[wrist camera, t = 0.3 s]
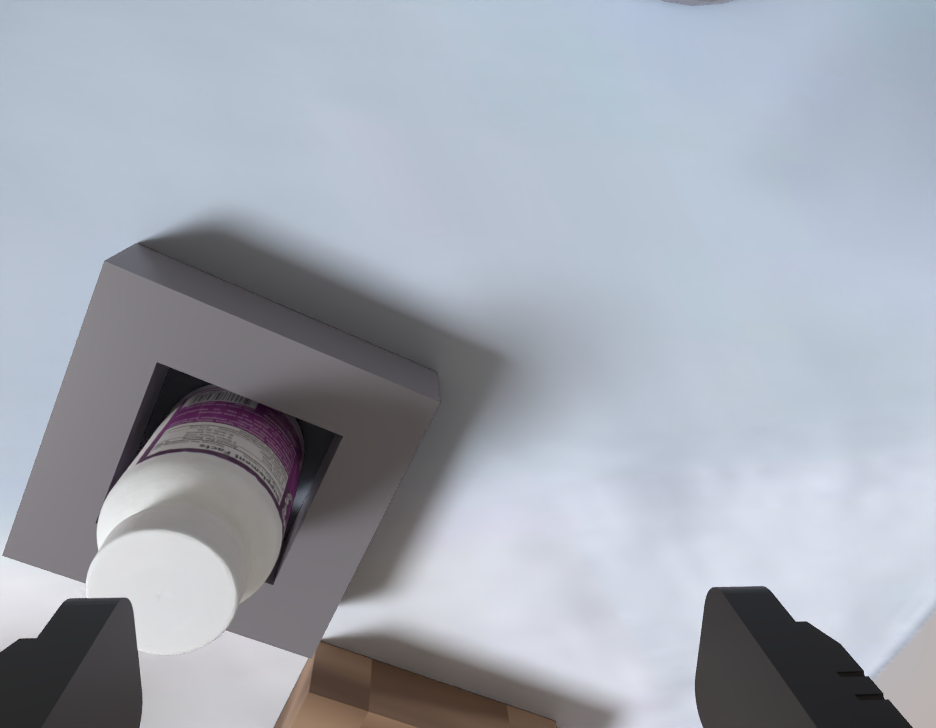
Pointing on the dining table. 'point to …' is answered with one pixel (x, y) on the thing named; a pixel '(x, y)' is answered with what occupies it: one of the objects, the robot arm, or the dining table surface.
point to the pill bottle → (198, 518)
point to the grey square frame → (247, 374)
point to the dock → (388, 698)
